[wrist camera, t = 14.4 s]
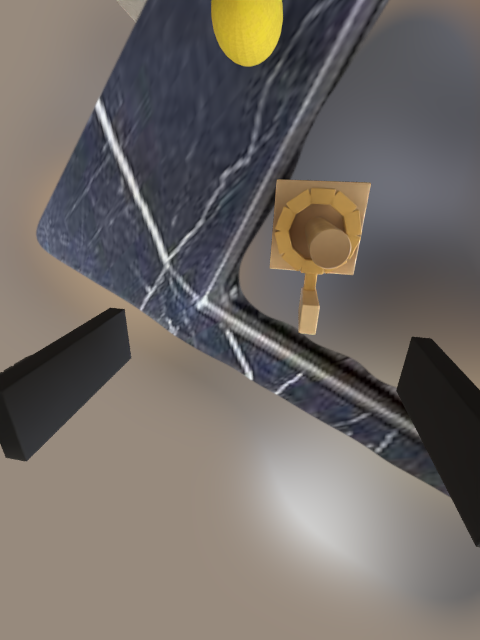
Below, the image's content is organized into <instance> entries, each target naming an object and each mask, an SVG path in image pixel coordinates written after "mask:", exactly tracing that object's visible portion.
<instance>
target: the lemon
mask: <svg viewBox="0 0 480 640" xmlns="http://www.w3.org/2000/svg"><path fill="white" fill-rule="evenodd" d="M211 16H212V23H213V28H214V33H215V36H216V38H217V41H218V43H219V45H220V47H221V49H222V50H223V51H224V53H225V54H226V56H227V57H228V58H230V59H231V60H232V61H233V62H235V63H237V64H239V65H242V66H254V65H258V64H259V63H261V62H263V61H264V60H265V59H266V58H267V57H268V56H269V55H270V54H271V53H272V51H273V50H274V48H275V47H276V45H277V42H278V39H279V37H280V33H281V28H282V22H283V7H282V0H212V2H211Z"/></svg>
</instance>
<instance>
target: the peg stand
mask: <svg viewBox="0 0 480 640" xmlns="http://www.w3.org/2000/svg"><path fill="white" fill-rule="evenodd" d="M370 186H371V183H367V182H337V181H309V180H281V179H277V183H276V196H275V208H274V221H273V234H272V246H271V257H270V268H272V269H284V270H295V269H294V268H293V267H292V266H291V265H289V264H288V263H287V262H286V261H285V260H284V259H282V258H281V257H282V254H279V251H278V246H277V242H276V237H275V231H278V230H276V229H275V227H276V224H277V222H278V219H279V217H280V214H281V212H282V209H283V207H284V206H286V207H288V205H287V202H289V201H290V200H292V199H293V198H295V197H296V196H298V195H299V194H301V193H302V192H303V191H305V190H306V189H308V191H309V193H310V189H311V188H329V189H336V192H337V191H341V192H342V193H343V194H344V195H345V196H346V197H347V198H348V199H350V200H351V201H352V202H353V203H354V204H355V205H356V206H357V207H356V208H355V210H359V214H360V222H361V229H362V227H363V222H364V217H365V212H366V207H367V201H368V196H369V191H370ZM336 192H335V193H336ZM288 208H289V207H288ZM289 233H290V238H291V243H292V247H293V248H294V249H295V250H297V251H298V252H299V253H300V254H301V255H302V256H303V257H305V258H312V260H313V262H314V263H315V264H316V265H317V266H319V267H321V268H325V269H333V268H336V267H338V266H340V265H341V266H340V267H338V268H336V269H334V270H332V271H330V272H329V273H334V274H347V275H353V274H354V269H355V264H356V258H357V253H358V248H359V243H360V241H359V243H358V245H357V247H356V249H355V251H354V253H353V254H352V256H351V258H350V259H348V257H349V255H350V252H351V242H350V239H349V237H348V236H347V235H346V234H345V231H344V225H343V218H342V216H341V215H340V214H339V213H338V212H337V211H336V210H335V209H334V208H333V207H332V206H330V205H328V204H311V205H309V206H308V207H306V208H305V209H303V210H302V211H300V212H299V213H297V214H296V215H295V217H294V220H293V222H292V224H291V227H290V229H289ZM357 236H359V237H361V235H357ZM345 261H347V263H345V264H343V263H344V262H345ZM342 264H343V265H342ZM298 271H301V268H300V269H299V270H298ZM323 273H326V272H325V271H324V270H323Z"/></svg>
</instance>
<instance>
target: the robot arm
mask: <svg viewBox="0 0 480 640" xmlns="http://www.w3.org/2000/svg"><path fill="white" fill-rule="evenodd" d="M126 324H127V323H126V317H125V309H117V308H109V309H108V310H106V311H104V312H102V313H101V314H99V315H98V316H96V317H94V318H93V319H91V320H89V321H88V322H86V323H84V324H83V325H81V326H79V327H78V328H76V329H74V330H73V331H71V332H70V333H68V334H66V335H65V336H63V337H61V338H60V339H58V340H56V341H55V342H53V343H51V344H50V345H48V346H46V347H45V348H43V349H42V350H40V351H38V352H36V353H35V354H33V355H31V356H28V357H26V358H24V359H22V360H21V361H19V362H17V363H16V364H14V366H11V367H9V368H7V369H6V370H4V372H1V373H0V444H1V446H2V449H3V452H4V454H5V457H6V458H11V459H16V460H21V461H27V460H28V459H29V458H30V457H31V456H32V455H33V454H34V453H35V452H37V451H38V450H39V449H40V448H41V447H42V446H43V445H44V444H45V443H46V442H47V441H48V440H49V439H50V438H51V437H52V436H53V435H54V434H55V433H56V432H57V431H58V430H59V429H60V428H61V427H62V426H63V425H64V424H65V423H66V422H67V421H68V420H69V419H70V418H71V417H72V416H73V415H74V414H75V413H76V412H77V411H78V410H79V409H80V408H81V407H82V406H83V405H84V404H85V403H86V402H87V401H88V400H89V399H90V398H91V397H92V396H93V395H94V394H95V393H96V392H97V391H98V390H99V389H100V388H101V387H102V386H103V385H104V384H105V383H106V382H107V381H108V380H109V379H110V378H111V377H113V375H115V373H116V372H118V371H119V370H120V369H121V367H123V366H124V365H125V364H126V363H127V362H128V361H129V359H131V353H130V346H129V338H128V331H127V325H126ZM396 391H397V393H398V395H399V397H400V399H401V401H402V402H403V404H404V406H405V408H406V410H407V412H408V414H409V416H410V418H411V420H412V422H413V424H414V426H415V428H416V430H417V432H418V434H419V436H420V438H421V440H422V442H423V444H424V446H425V448H426V450H427V451H428V453H429V455H430V457H431V459H432V461H433V463H434V465H435V467H436V469H437V471H438V473H439V475H440V477H441V479H442V481H443V483H444V485H445V487H446V489H447V491H448V493H449V495H450V497H451V498H452V500H453V502H454V504H455V506H456V508H457V510H458V512H459V514H460V516H461V518H462V520H463V522H464V524H465V526H466V528H467V530H468V532H469V534H470V535H471V538H472V540H473V542H474V543H475V545H476V547H480V390H479V389H478V388H477V387H476V386H475V385H474V383H473V382H472V381H471V380H470V379H469V378H468V377H467V376H466V375H465V374H464V373H463V372H462V371H461V370H460V369H459V368H458V366H457V365H456V364H455V363H454V362H453V361H452V360H451V359H450V358H449V357H448V356H447V355H446V354H445V353H444V352H443V350H442V349H441V348H440V347H439V346H438V345H437V344H436V343H435V342H434V341H433V340H432V339H430V338H420V337H412V338H411V341H410V345H409V348H408V352H407V355H406V359H405V362H404V366H403V369H402V372H401V376H400V379H399V383H398V386H397V390H396Z"/></svg>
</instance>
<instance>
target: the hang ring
mask: <svg viewBox="0 0 480 640" xmlns="http://www.w3.org/2000/svg"><path fill="white" fill-rule="evenodd" d="M335 192H336V189H329V188H311V189H310V193H309V191H308V189H306V190H305V191H303V192H302V193H301V194H299V195H298V196H296V197H295V198H293V199H292V200H290V201H289V202H287V205H288V207H289V208H288V207H286V206H284V207H283V209H282V212H281V214H280V217H279V219H278V222H277V224H276V227H275V229H276V230H278V231H275V237H276V242H277V246H278V251H279V254H282V257H281V258H282V259H284V260H285V261H286V262H287V263H288V264H289V265H291V266H292V267H293V268H294V269H295V270H296V271H298V270H299V269H300V268H301V273H305V279H304V287H302V288H301V296H300V304H299V333H304V334H313V335H314V334H316V327H317V320H318V313H319V308H320V307H319V302H318V297H317V291H316V289H315V287H316V279H317V274H323V270H324V271H325V272H326V274H327V273H329V272H330V271H332V270H334V269H336V268H338V267H340V266H341V265H340V266H338V267H336V268H333V269H325V268H321V267H319V266H317V265H316V264H315V263H314V262H313V260H312V258H305V257H303V256H302V255H301V254H300V253H299V252H298V251H297V250H295V249H294V248H293V247H292V243H291V238H290V233H289V229H290V227H291V224H292V222H293V220H294V217H295V215H296V214H297V213H299V212H300V211H302V210H303V209H305V208H306V207H308V206H309V205H311V204H328V205H330V206H332V207H333V208H334V209H335V210H336V211H337V212H338V213H339V214H340V215H341V216H342V218H343V225H344V231H345V234H346V235H347V236H348V237H349V239H350V242H351V252H350V255H349V257H348V259H350V258H351V256H352V254H353V253H354V251H355V249H356V247H357V245H358V243H359V241H360V239H361V237H359V236H357V235H361V234H362V229H361V222H360V214H359V210H355V208H356V207H357V206H356V205H355V204H354V203H353V202H352V201H351V200H350V199H348V198H347V197H346V196H345V195H344V194H343V193H342V192H341V191H337V192H336V193H335ZM345 263H347V261H345V262H344V263H343V264H345ZM343 264H342V265H343Z"/></svg>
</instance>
